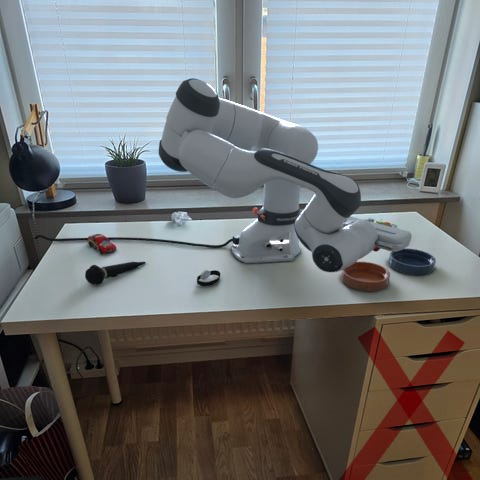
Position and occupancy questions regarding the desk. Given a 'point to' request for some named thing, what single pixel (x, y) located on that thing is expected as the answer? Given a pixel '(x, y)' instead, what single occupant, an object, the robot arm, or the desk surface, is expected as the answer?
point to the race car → (101, 244)
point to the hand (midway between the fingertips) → (382, 224)
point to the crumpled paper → (180, 217)
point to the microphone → (109, 271)
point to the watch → (205, 275)
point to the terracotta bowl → (366, 276)
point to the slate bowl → (412, 261)
